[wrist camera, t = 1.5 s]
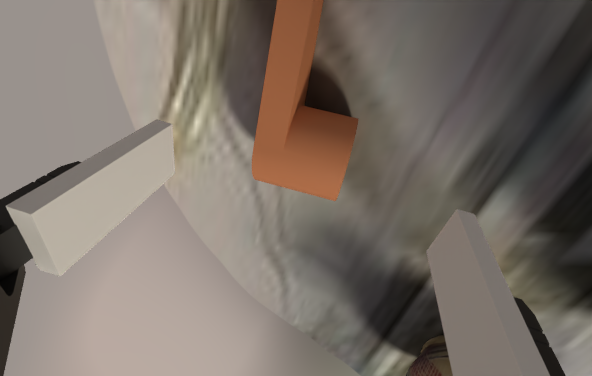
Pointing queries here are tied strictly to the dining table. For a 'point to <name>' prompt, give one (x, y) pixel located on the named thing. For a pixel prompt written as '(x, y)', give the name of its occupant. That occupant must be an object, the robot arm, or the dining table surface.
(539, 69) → the dining table surface
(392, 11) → the dining table surface
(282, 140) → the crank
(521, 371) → the robot arm
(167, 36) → the dining table surface
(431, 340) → the ceramic jug
